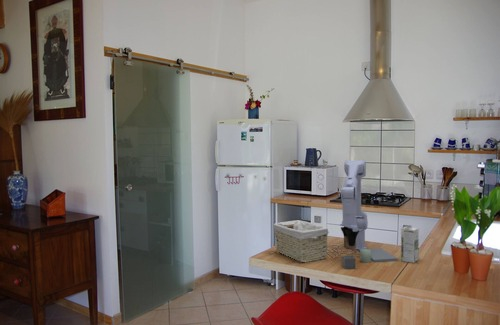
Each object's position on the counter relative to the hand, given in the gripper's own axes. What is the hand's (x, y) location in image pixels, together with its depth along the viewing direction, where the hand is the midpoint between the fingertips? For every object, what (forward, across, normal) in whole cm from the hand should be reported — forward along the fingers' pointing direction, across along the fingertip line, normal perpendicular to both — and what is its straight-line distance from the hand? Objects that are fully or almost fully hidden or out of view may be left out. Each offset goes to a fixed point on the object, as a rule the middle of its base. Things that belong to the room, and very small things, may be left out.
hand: (349, 244), depth 174 cm
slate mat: (+8, -7, +16) cm, 19 cm away
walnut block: (+2, 0, 0) cm, 2 cm away
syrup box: (+8, +3, +26) cm, 27 cm away
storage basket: (+8, -14, -19) cm, 25 cm away
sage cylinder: (+8, 0, +7) cm, 11 cm away
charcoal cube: (+8, +7, -3) cm, 11 cm away
